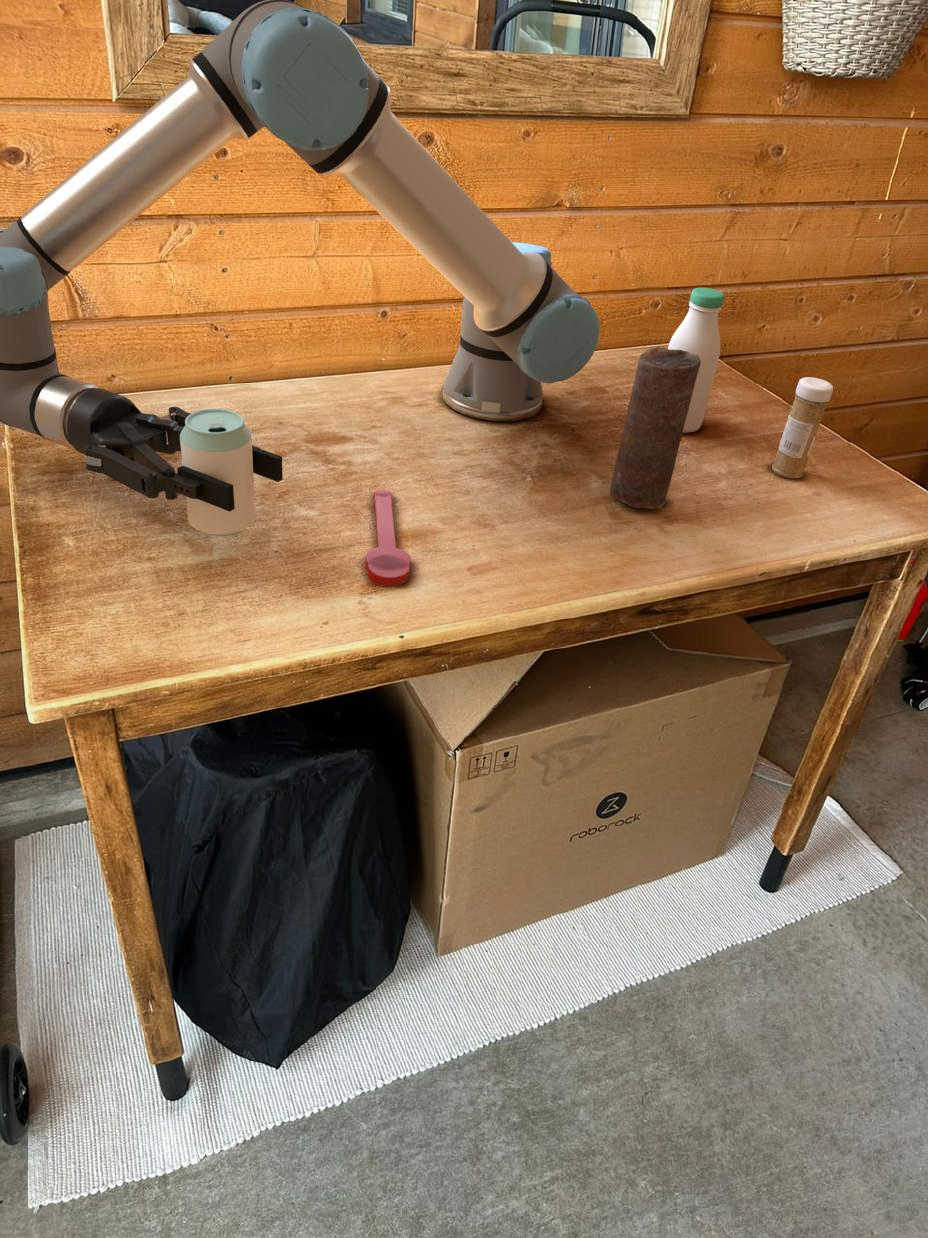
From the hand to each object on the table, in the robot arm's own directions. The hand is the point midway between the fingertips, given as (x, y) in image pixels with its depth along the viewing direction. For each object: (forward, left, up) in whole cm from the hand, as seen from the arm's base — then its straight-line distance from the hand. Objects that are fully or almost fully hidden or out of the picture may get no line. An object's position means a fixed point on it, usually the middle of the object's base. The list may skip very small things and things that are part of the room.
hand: (256, 483), depth 95 cm
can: (-3, -4, -7) cm, 8 cm away
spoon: (-6, +14, -10) cm, 18 cm away
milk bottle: (-42, +60, -10) cm, 74 cm away
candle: (-17, +47, -10) cm, 51 cm away
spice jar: (-27, +72, -10) cm, 77 cm away
